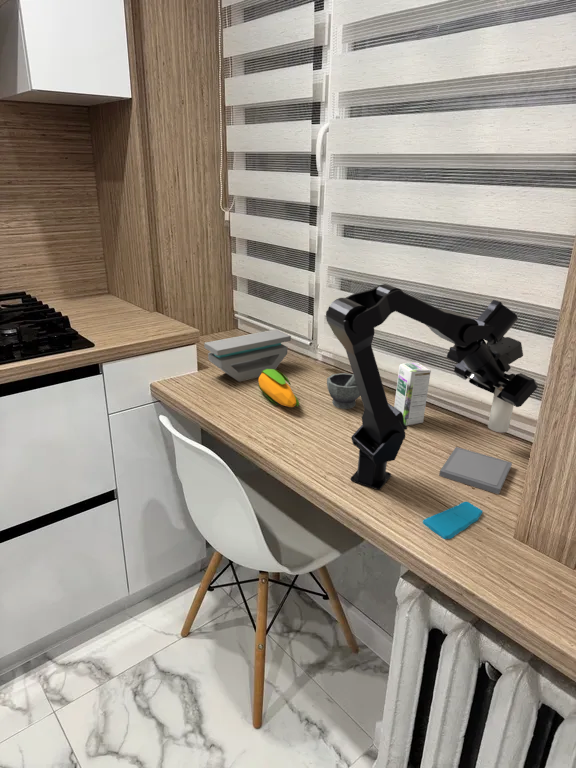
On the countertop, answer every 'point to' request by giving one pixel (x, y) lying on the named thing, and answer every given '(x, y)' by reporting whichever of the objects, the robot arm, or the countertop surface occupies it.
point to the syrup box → (412, 392)
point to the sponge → (453, 520)
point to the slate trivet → (476, 470)
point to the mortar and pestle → (343, 390)
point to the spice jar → (500, 413)
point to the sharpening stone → (248, 353)
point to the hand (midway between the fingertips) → (508, 398)
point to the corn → (277, 388)
